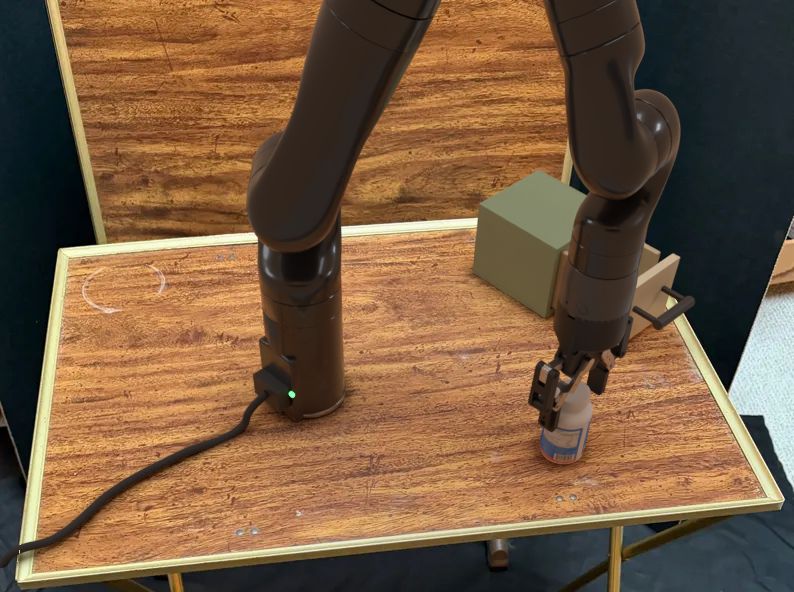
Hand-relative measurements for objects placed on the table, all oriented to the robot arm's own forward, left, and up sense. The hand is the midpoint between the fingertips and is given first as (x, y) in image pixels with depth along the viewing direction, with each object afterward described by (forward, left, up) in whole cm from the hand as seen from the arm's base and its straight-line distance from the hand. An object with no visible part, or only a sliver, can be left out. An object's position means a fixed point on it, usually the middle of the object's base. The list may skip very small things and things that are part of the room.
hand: (571, 408), depth 112 cm
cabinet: (+23, +24, -7) cm, 34 cm away
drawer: (+23, +10, -6) cm, 26 cm away
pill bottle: (0, 0, -7) cm, 7 cm away
